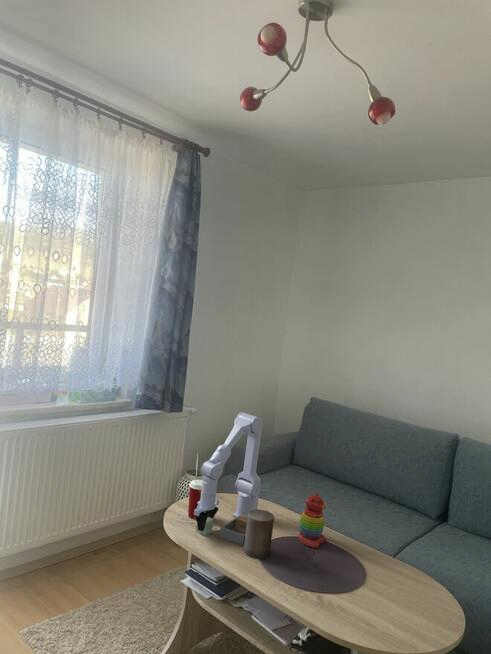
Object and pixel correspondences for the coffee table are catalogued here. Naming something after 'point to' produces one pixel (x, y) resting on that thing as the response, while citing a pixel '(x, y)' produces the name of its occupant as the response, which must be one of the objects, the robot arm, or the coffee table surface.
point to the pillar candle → (258, 533)
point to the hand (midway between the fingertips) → (204, 527)
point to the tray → (232, 533)
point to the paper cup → (194, 496)
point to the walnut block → (241, 524)
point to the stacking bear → (312, 522)
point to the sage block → (206, 527)
